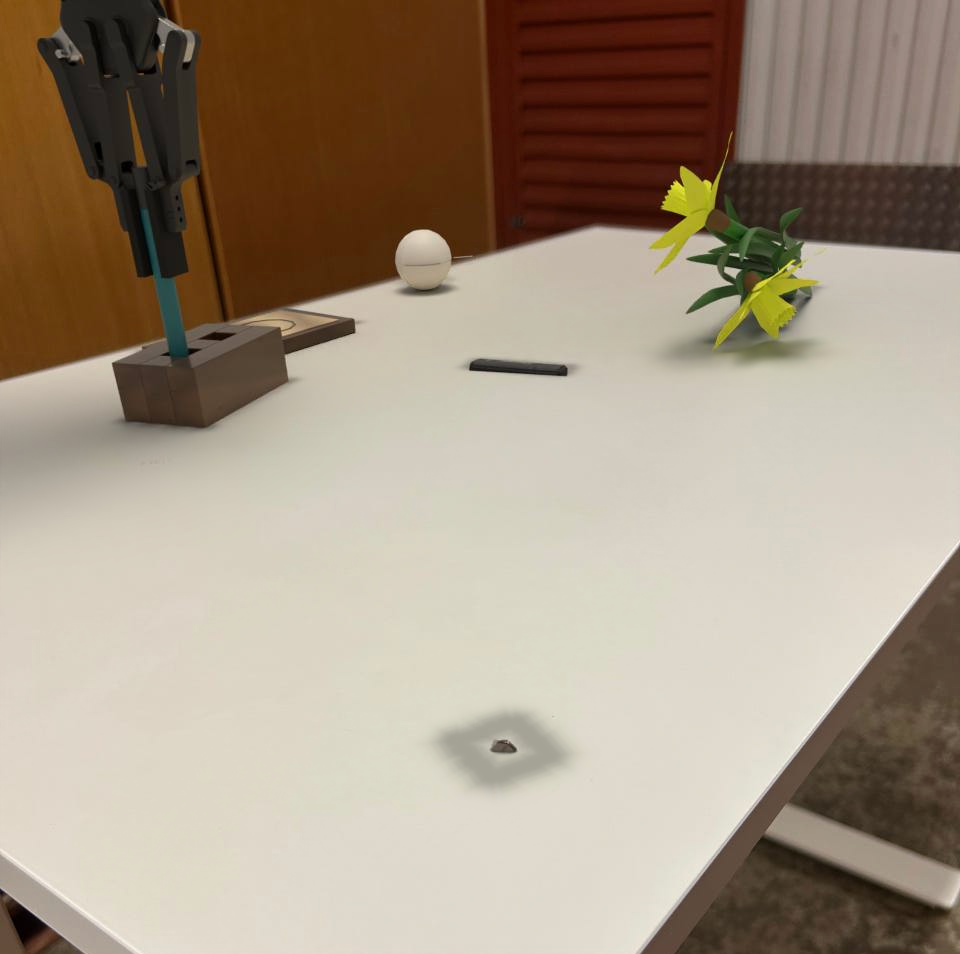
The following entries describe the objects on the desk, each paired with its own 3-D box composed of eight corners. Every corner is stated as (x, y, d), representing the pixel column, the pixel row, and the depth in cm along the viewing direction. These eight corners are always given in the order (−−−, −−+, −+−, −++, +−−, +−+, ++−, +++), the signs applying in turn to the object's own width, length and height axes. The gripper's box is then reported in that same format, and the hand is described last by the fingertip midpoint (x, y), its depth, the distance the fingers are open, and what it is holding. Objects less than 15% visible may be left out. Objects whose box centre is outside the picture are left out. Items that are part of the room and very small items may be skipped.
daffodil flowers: (880, 308, 113) (827, 283, 83) (759, 370, 120) (672, 367, 91) (821, 171, 112) (747, 97, 83) (704, 242, 120) (598, 197, 90)
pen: (168, 373, 85) (126, 167, 77) (180, 367, 86) (140, 165, 78) (184, 374, 84) (144, 167, 76) (196, 368, 86) (157, 165, 77)
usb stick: (570, 377, 93) (570, 361, 92) (560, 386, 91) (560, 369, 90) (479, 370, 96) (478, 354, 96) (467, 378, 94) (466, 362, 94)
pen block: (127, 432, 86) (111, 362, 82) (217, 386, 96) (205, 323, 93) (207, 439, 83) (193, 368, 80) (290, 391, 94) (280, 326, 91)
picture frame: (213, 376, 99) (210, 359, 98) (144, 360, 106) (140, 344, 105) (356, 332, 112) (354, 317, 111) (286, 320, 119) (284, 306, 118)
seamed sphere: (390, 295, 128) (384, 235, 124) (407, 283, 134) (402, 225, 130) (464, 295, 126) (461, 234, 122) (479, 283, 132) (476, 224, 128)
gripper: (213, -84, 70) (264, 268, 82) (48, -67, 74) (120, 263, 87) (146, -94, 64) (212, 287, 76) (-29, -75, 68) (60, 281, 81)
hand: (163, 274), depth 81 cm, fingers closed on pen, 2 cm apart
